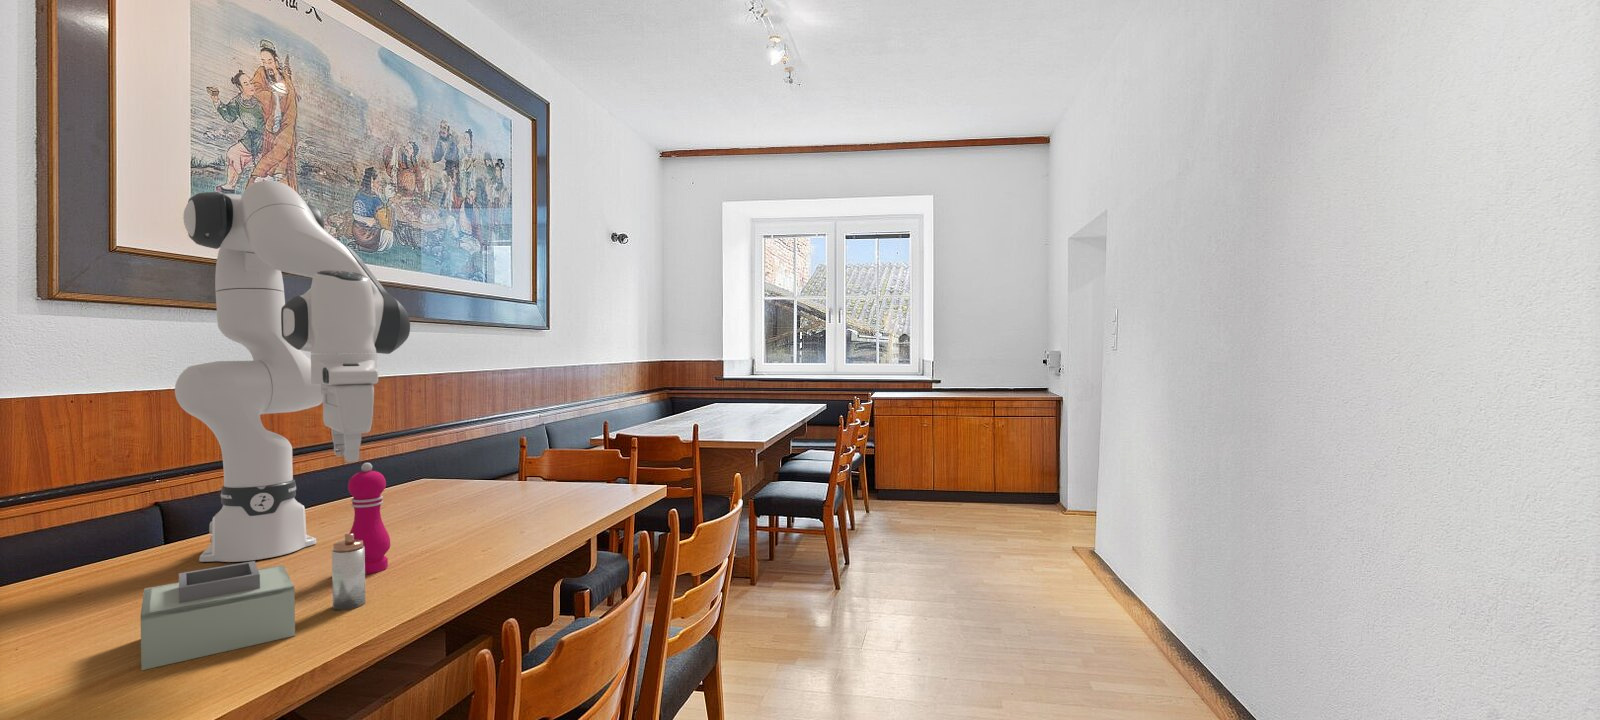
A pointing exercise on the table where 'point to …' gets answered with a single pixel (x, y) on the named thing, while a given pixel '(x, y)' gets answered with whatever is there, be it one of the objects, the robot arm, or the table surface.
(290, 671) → the table surface
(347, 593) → the canister
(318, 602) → the table surface
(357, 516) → the pepper mill
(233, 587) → the green square holder
